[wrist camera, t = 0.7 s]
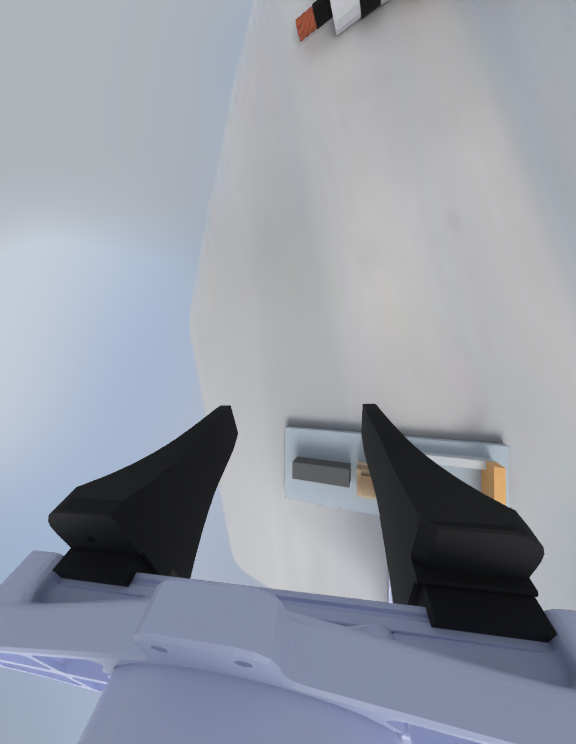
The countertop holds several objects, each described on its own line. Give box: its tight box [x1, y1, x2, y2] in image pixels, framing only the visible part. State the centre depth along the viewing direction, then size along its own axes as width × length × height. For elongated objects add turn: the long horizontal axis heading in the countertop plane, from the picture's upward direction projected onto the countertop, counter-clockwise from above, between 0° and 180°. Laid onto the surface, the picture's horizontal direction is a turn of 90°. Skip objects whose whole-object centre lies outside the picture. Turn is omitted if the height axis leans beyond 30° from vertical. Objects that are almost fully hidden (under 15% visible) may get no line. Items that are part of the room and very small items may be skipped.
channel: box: [285, 426, 510, 516], centre depth 31 cm, size 11×28×4 cm, turn 90°
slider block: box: [357, 461, 377, 500], centre depth 31 cm, size 3×4×4 cm
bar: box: [292, 457, 351, 488], centre depth 34 cm, size 2×8×2 cm, turn 90°
